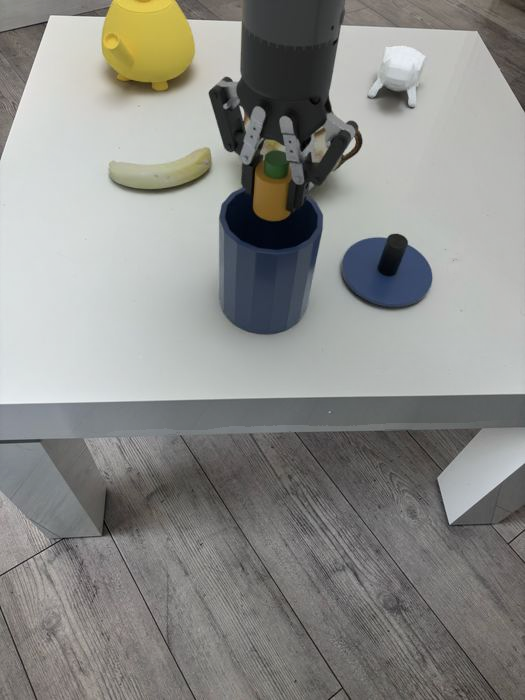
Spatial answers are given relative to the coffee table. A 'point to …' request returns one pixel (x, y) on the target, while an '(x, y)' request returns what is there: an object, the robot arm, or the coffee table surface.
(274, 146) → the sugar bowl
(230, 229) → the pot
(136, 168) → the fruit
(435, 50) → the coffee table surface
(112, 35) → the teapot
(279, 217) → the yellow and green cylinder
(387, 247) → the lid
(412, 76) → the white animal figurine
